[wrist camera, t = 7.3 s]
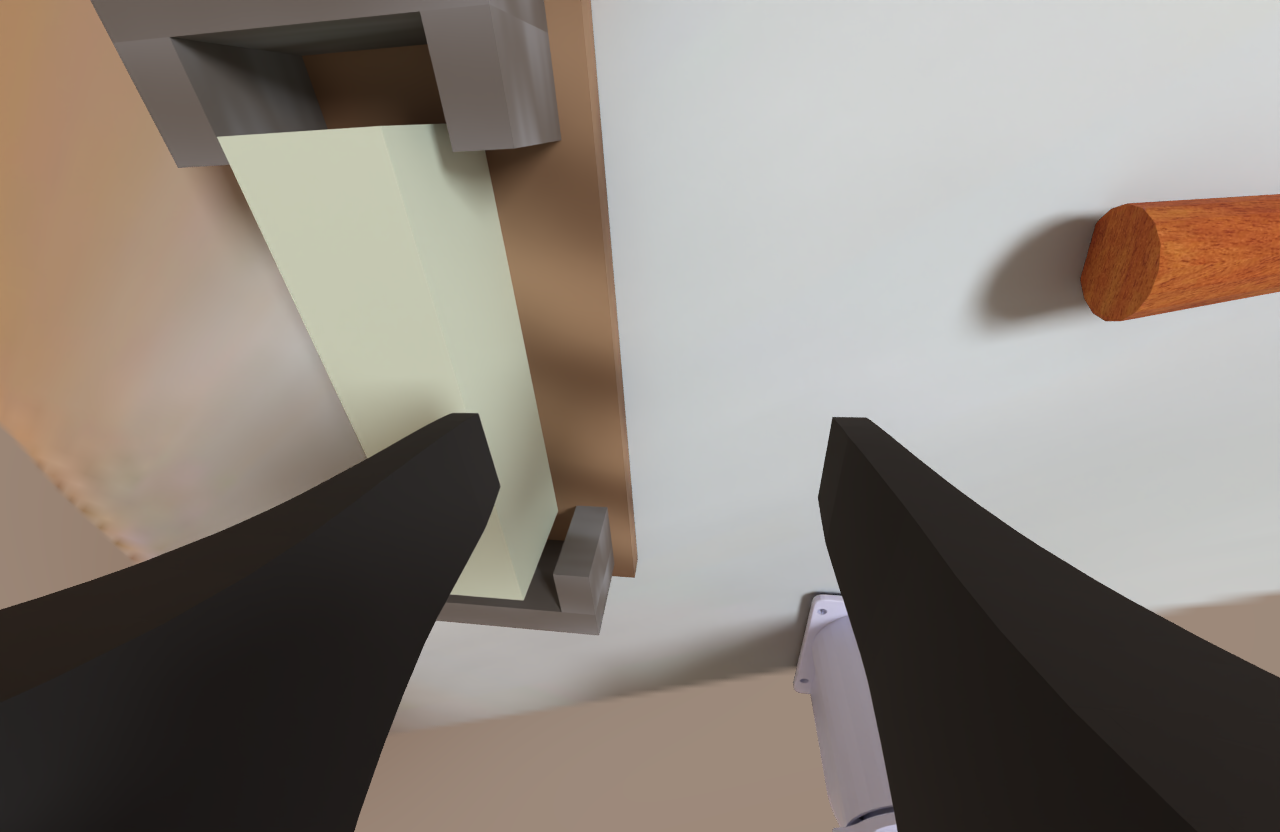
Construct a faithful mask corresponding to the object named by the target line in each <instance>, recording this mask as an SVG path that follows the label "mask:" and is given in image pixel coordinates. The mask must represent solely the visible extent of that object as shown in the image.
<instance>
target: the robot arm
mask: <svg viewBox="0 0 1280 832" xmlns="http://www.w3.org/2000/svg"><path fill="white" fill-rule="evenodd" d="M500 487H501V486H500V483H499V479H498V476H497V473H496V469H495V466H494V463H493V459H492V456H491V453H490V450H489V446H488V443H487V440H486V436H485V433H484V430H483V426H482V423H481V420H480V416H479V413H451V414H448V415H446V416H444V417H442V418H440V419H437V420H435V421H434V422H432V423H430V424H428V425H426V426H424V427H422V428H420V429H419V430H417V431H415V432H413V433H411V434H410V435H408V436H406V437H404V438H403V439H401V440H399V441H397V442H396V443H394V444H392V445H390V446H389V447H387V448H385V449H383V450H382V451H380V452H378V453H376V454H375V455H373V456H371V457H369V458H367V459H366V460H364V461H362V462H360V463H359V464H357V465H355V466H353V467H351V468H349V469H348V470H346V471H344V472H342V473H340V474H338V475H336V476H334V477H333V478H331V479H329V480H327V481H325V482H323V483H321V484H319V485H318V486H316V487H314V488H312V489H310V490H308V491H306V492H304V493H302V494H301V495H299V496H297V497H294V498H292V499H290V500H288V501H286V502H284V503H282V504H280V505H278V506H276V507H274V508H272V509H270V510H268V511H265V512H263V513H261V514H259V515H257V516H254V517H252V518H250V519H248V520H245V521H243V522H241V523H239V524H237V525H234V526H232V527H230V528H227V529H225V530H223V531H220V532H218V533H216V534H213V535H211V536H208V537H205V538H203V539H200V540H198V541H195V542H193V543H190V544H188V545H185V546H183V547H180V548H178V549H175V550H173V551H170V552H167V553H165V554H162V555H160V556H157V557H155V558H152V559H150V560H147V561H145V562H142V563H139V564H136V565H134V566H131V567H128V568H125V569H123V570H120V571H117V572H114V573H111V574H108V575H105V576H103V577H100V578H97V579H94V580H91V581H89V582H85V583H82V584H79V585H76V586H73V587H70V588H67V589H64V590H61V591H58V592H55V593H52V594H49V595H46V596H43V597H40V598H37V599H34V600H31V601H27V602H24V603H21V604H18V605H15V606H11V607H8V608H5V609H1V610H0V832H354V830H355V827H356V824H357V820H358V817H359V814H360V811H361V808H362V806H363V803H364V800H365V797H366V794H367V791H368V788H369V786H370V783H371V780H372V777H373V774H374V771H375V768H376V766H377V763H378V760H379V757H380V754H381V751H382V749H383V746H384V743H385V740H386V738H387V735H388V733H389V730H390V728H391V725H392V722H393V720H394V717H395V715H396V712H397V710H398V707H399V704H400V702H401V699H402V697H403V694H404V691H405V689H406V687H407V684H408V682H409V680H410V677H411V675H412V672H413V670H414V668H415V665H416V663H417V660H418V658H419V656H420V653H421V651H422V649H423V646H424V644H425V642H426V640H427V638H428V636H429V633H430V631H431V629H432V627H433V625H434V623H435V621H436V619H437V617H438V616H439V614H440V612H441V610H442V608H443V606H444V605H445V603H446V601H447V599H448V597H449V595H450V593H451V592H452V590H453V588H454V586H455V584H456V582H457V581H458V579H459V577H460V575H461V573H462V571H463V570H464V568H465V566H466V564H467V562H468V560H469V558H470V557H471V555H472V553H473V551H474V549H475V547H476V545H477V543H478V541H479V540H480V538H481V536H482V534H483V532H484V530H485V528H486V526H487V523H488V520H489V518H490V515H491V513H492V510H493V507H494V504H495V502H496V499H497V496H498V493H499V490H500ZM818 501H819V507H820V513H821V520H822V525H823V531H824V536H825V542H826V546H827V549H828V553H829V556H830V559H831V563H832V566H833V569H834V572H835V576H836V579H837V582H838V585H839V588H840V592H841V595H842V596H839V595H825V594H820V595H817V596H815V597H814V598H813V600H812V604H811V609H810V613H809V617H808V621H807V626H806V630H805V634H804V639H803V643H802V647H801V651H800V656H799V660H798V664H797V669H796V673H795V677H794V681H793V685H794V690H795V691H797V692H799V693H806V694H811V699H812V706H813V711H814V717H815V723H816V729H817V735H818V741H819V746H820V752H821V758H822V764H823V770H824V776H825V782H826V788H827V793H828V797H829V801H830V805H831V808H832V811H833V813H834V816H835V818H836V820H837V822H838V824H839V826H840V827H841V828H834V829H833V832H1280V678H1279V677H1277V676H1275V675H1273V674H1271V673H1269V672H1267V671H1265V670H1263V669H1261V668H1259V667H1257V666H1255V665H1253V664H1251V663H1249V662H1247V661H1245V660H1243V659H1241V658H1239V657H1237V656H1235V655H1233V654H1231V653H1229V652H1227V651H1225V650H1223V649H1221V648H1219V647H1217V646H1215V645H1213V644H1211V643H1210V642H1208V641H1206V640H1204V639H1202V638H1200V637H1198V636H1196V635H1194V634H1193V633H1190V632H1189V631H1187V630H1185V629H1183V628H1181V627H1179V626H1178V625H1176V624H1174V623H1172V622H1170V621H1168V620H1166V619H1164V618H1163V617H1161V616H1159V615H1157V614H1155V613H1153V612H1152V611H1150V610H1148V609H1146V608H1144V607H1142V606H1140V605H1139V604H1137V603H1135V602H1133V601H1131V600H1129V599H1128V598H1126V597H1124V596H1122V595H1121V594H1119V593H1117V592H1115V591H1114V590H1112V589H1110V588H1108V587H1107V586H1105V585H1103V584H1101V583H1100V582H1098V581H1096V580H1094V579H1093V578H1091V577H1089V576H1088V575H1086V574H1085V573H1083V572H1081V571H1080V570H1078V569H1076V568H1075V567H1073V566H1071V565H1070V564H1068V563H1067V562H1065V561H1063V560H1062V559H1060V558H1058V557H1057V556H1055V555H1053V554H1052V553H1050V552H1048V551H1047V550H1045V549H1044V548H1042V547H1040V546H1039V545H1037V544H1036V543H1034V542H1033V541H1031V540H1030V539H1028V538H1026V537H1025V536H1023V535H1022V534H1020V533H1019V532H1017V531H1016V530H1014V529H1013V528H1011V527H1010V526H1009V525H1007V524H1006V523H1004V522H1003V521H1001V520H1000V519H999V518H997V517H996V516H994V515H993V514H991V513H990V512H989V511H987V510H986V509H984V508H983V507H981V506H980V505H978V504H977V503H976V502H974V501H973V500H972V499H970V498H969V497H968V496H966V495H965V494H963V493H962V492H961V491H959V490H958V489H957V488H955V487H954V486H953V485H951V484H950V483H949V482H947V481H946V480H945V479H944V478H942V477H941V476H940V475H938V474H937V473H936V472H935V471H933V470H932V469H931V468H929V467H928V466H927V465H926V464H924V463H923V462H922V461H921V460H919V459H918V458H917V457H916V456H914V455H913V454H912V453H911V452H910V451H908V450H907V449H906V448H905V447H903V446H902V445H901V444H900V443H898V442H897V441H896V440H895V439H894V438H892V437H891V436H890V435H889V434H887V433H886V432H885V431H884V430H882V429H881V428H880V427H879V426H877V425H876V424H875V423H873V422H872V421H871V420H869V419H868V418H854V417H833V418H832V424H831V429H830V435H829V440H828V446H827V451H826V457H825V462H824V468H823V473H822V479H821V484H820V490H819V495H818Z"/></svg>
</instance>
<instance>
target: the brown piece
mask: <svg viewBox="0 0 1280 832" xmlns="http://www.w3.org/2000/svg"><path fill="white" fill-rule="evenodd" d="M1080 281H1081V285H1082V290H1083V295H1084V299H1085V301H1086V302H1087V304H1088V306H1089V307H1090V309H1091V311H1092V312H1093V313H1094V314H1095V315H1097V316H1098V317H1100V318H1101V319H1103V320H1104V321H1124V320H1129V319H1135V318H1140V317H1145V316H1151V315H1156V314H1162V313H1167V312H1172V311H1178V310H1183V309H1188V308H1194V307H1199V306H1205V305H1210V304H1215V303H1221V302H1226V301H1231V300H1237V299H1242V298H1248V297H1253V296H1258V295H1264V294H1269V293H1274V292H1280V194H1276V195H1260V196H1243V197H1227V198H1210V199H1194V200H1178V201H1161V202H1145V203H1128V204H1124V205H1121V206H1118V207H1115V208H1112V209H1111V210H1110V211H1108V212H1107V213H1106V214H1105V215H1104V216H1103V217H1102V218H1101V219H1100V220H1099V221H1098V222H1097V223H1096V225H1095V229H1094V232H1093V236H1092V239H1091V243H1090V247H1089V250H1088V254H1087V257H1086V261H1085V264H1084V268H1083V271H1082V275H1081V280H1080Z"/></svg>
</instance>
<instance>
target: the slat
mask: <svg viewBox="0 0 1280 832" xmlns="http://www.w3.org/2000/svg"><path fill="white" fill-rule="evenodd" d="M217 138H218V141H219V143H220V145H221V147H222V149H223V151H224V153H225V156H226V158H227V160H228V162H229V164H230V166H231V168H232V170H233V173H234V175H235V177H236V179H237V181H238V183H239V185H240V188H241V190H242V192H243V194H244V196H245V198H246V200H247V203H248V205H249V207H250V209H251V211H252V213H253V215H254V218H255V220H256V222H257V224H258V226H259V228H260V230H261V232H262V235H263V237H264V239H265V241H266V243H267V245H268V247H269V250H270V252H271V254H272V256H273V258H274V260H275V262H276V265H277V267H278V269H279V271H280V273H281V275H282V277H283V279H284V282H285V284H286V286H287V288H288V290H289V292H290V294H291V297H292V299H293V301H294V303H295V305H296V307H297V309H298V312H299V314H300V316H301V318H302V320H303V322H304V324H305V326H306V329H307V331H308V333H309V335H310V337H311V339H312V341H313V344H314V346H315V348H316V350H317V352H318V354H319V356H320V359H321V361H322V363H323V365H324V367H325V369H326V371H327V374H328V376H329V378H330V380H331V382H332V384H333V386H334V388H335V391H336V393H337V395H338V397H339V399H340V401H341V403H342V406H343V408H344V410H345V412H346V414H347V416H348V418H349V421H350V423H351V425H352V427H353V429H354V431H355V433H356V435H357V438H358V440H359V442H360V444H361V446H362V448H363V450H364V453H365V455H366V457H367V458H369V457H371V456H373V455H375V454H376V453H378V452H380V451H382V450H383V449H385V448H387V447H389V446H390V445H392V444H394V443H396V442H397V441H399V440H401V439H403V438H404V437H406V436H408V435H410V434H411V433H413V432H415V431H417V430H419V429H420V428H422V427H424V426H426V425H428V424H430V423H432V422H434V421H435V420H437V419H440V418H442V417H444V416H446V415H448V414H451V413H479V416H480V420H481V423H482V426H483V430H484V433H485V436H486V440H487V443H488V446H489V450H490V453H491V456H492V459H493V463H494V466H495V469H496V473H497V476H498V479H499V483H500V486H501V487H500V490H499V493H498V496H497V499H496V502H495V504H494V507H493V510H492V513H491V515H490V518H489V520H488V523H487V526H486V528H485V530H484V532H483V534H482V536H481V538H480V540H479V541H478V543H477V545H476V547H475V549H474V551H473V553H472V555H471V557H470V558H469V560H468V562H467V564H466V566H465V568H464V570H463V571H462V573H461V575H460V577H459V579H458V581H457V582H456V584H455V586H454V588H453V590H452V592H451V593H450V594H451V595H463V596H476V597H488V598H500V599H512V600H524V598H525V596H526V593H527V590H528V588H529V585H530V583H531V580H532V578H533V575H534V572H535V570H536V567H537V565H538V562H539V559H540V557H541V554H542V552H543V549H544V546H545V544H546V541H547V539H548V536H549V533H550V531H551V528H552V526H553V523H554V521H555V518H556V515H557V513H558V507H557V502H556V498H555V493H554V488H553V483H552V478H551V473H550V468H549V463H548V458H547V453H546V448H545V443H544V438H543V434H542V429H541V424H540V419H539V414H538V409H537V404H536V399H535V394H534V389H533V384H532V379H531V374H530V370H529V365H528V360H527V355H526V350H525V345H524V340H523V335H522V330H521V325H520V320H519V315H518V310H517V305H516V301H515V296H514V291H513V286H512V281H511V276H510V271H509V266H508V261H507V256H506V251H505V246H504V241H503V237H502V232H501V227H500V222H499V217H498V212H497V207H496V202H495V197H494V192H493V187H492V182H491V177H490V173H489V168H488V163H487V158H486V153H485V150H479V151H462V152H453V150H452V145H451V141H450V137H449V133H448V128H447V124H421V125H394V126H373V127H358V128H343V129H328V130H313V131H298V132H283V133H267V134H252V135H237V136H222V137H217Z"/></svg>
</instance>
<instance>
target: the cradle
mask: <svg viewBox="0 0 1280 832" xmlns="http://www.w3.org/2000/svg"><path fill="white" fill-rule="evenodd" d="M91 2H92V4H93V6H94V8H95V10H96V12H97V14H98V16H99V18H100V19H101V21H102V23H103V25H104V27H105V29H106V31H107V33H108V35H109V37H110V39H111V40H112V42H113V44H114V46H115V48H116V50H117V52H118V54H119V56H120V58H121V60H122V61H123V63H124V65H125V67H126V69H127V71H128V73H129V75H130V77H131V79H132V81H133V82H134V84H135V86H136V88H137V90H138V92H139V94H140V96H141V98H142V100H143V102H144V104H145V105H146V107H147V109H148V111H149V113H150V115H151V117H152V119H153V121H154V123H155V125H156V126H157V128H158V130H159V132H160V134H161V136H162V138H163V140H164V142H165V144H166V146H167V147H168V149H169V151H170V153H171V155H172V157H173V159H174V161H175V163H176V165H177V167H178V168H182V167H200V166H217V165H230V164H229V162H228V160H227V158H226V156H225V153H224V151H223V149H222V147H221V145H220V143H219V141H218V138H217V137H222V136H237V135H252V134H267V133H283V132H298V131H313V130H328V129H343V128H358V127H373V126H394V125H421V124H447V128H448V133H449V137H450V141H451V145H452V150H453V152H462V151H479V150H485V153H486V158H487V163H488V168H489V173H490V177H491V182H492V187H493V192H494V197H495V202H496V207H497V212H498V217H499V222H500V227H501V232H502V237H503V241H504V246H505V251H506V256H507V261H508V266H509V271H510V276H511V281H512V286H513V291H514V296H515V301H516V305H517V310H518V315H519V320H520V325H521V330H522V335H523V340H524V345H525V350H526V355H527V360H528V365H529V370H530V374H531V379H532V384H533V389H534V394H535V399H536V404H537V409H538V414H539V419H540V424H541V429H542V434H543V438H544V443H545V448H546V453H547V458H548V463H549V468H550V473H551V478H552V483H553V488H554V493H555V498H556V502H557V507H558V513H557V515H556V518H555V521H554V523H553V526H552V528H551V531H550V533H549V536H548V539H547V541H546V544H545V546H544V549H543V552H542V554H541V557H540V559H539V562H538V565H537V567H536V570H535V572H534V575H533V578H532V580H531V583H530V585H529V588H528V590H527V593H526V596H525V598H524V600H512V599H500V598H488V597H476V596H463V595H451V594H450V595H449V597H448V599H447V601H446V603H445V605H444V606H443V608H442V610H441V612H440V614H439V616H438V617H437V619H436V621H447V622H458V623H469V624H480V625H491V626H501V627H512V628H523V629H534V630H545V631H556V632H567V633H578V634H589V635H599V633H600V628H601V624H602V619H603V614H604V610H605V605H606V600H607V596H608V591H609V586H610V582H611V577H612V576H620V577H634V578H635V572H636V566H637V560H638V559H637V547H636V535H635V523H634V511H633V499H632V487H631V475H630V464H629V452H628V440H627V428H626V416H625V404H624V392H623V380H622V369H621V357H620V345H619V333H618V321H617V309H616V297H615V285H614V274H613V262H612V250H611V238H610V226H609V214H608V202H607V190H606V179H605V167H604V155H603V143H602V131H601V119H600V107H599V95H598V84H597V72H596V60H595V48H594V36H593V24H592V12H591V0H91Z"/></svg>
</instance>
